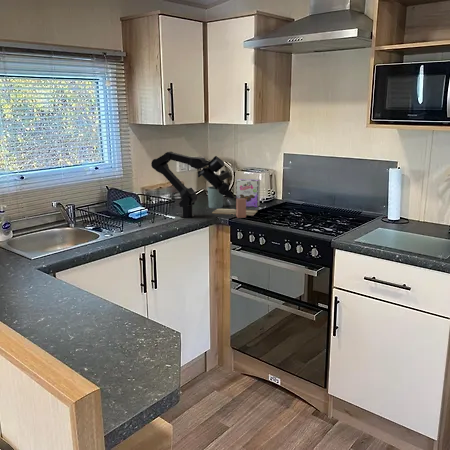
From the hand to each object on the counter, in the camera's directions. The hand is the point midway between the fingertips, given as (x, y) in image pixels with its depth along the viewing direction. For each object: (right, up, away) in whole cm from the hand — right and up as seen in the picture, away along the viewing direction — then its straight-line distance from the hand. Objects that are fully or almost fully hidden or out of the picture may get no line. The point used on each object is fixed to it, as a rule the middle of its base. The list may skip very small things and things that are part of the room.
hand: (231, 196), depth 259 cm
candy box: (+10, -4, +34) cm, 36 cm away
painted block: (+5, -11, +4) cm, 13 cm away
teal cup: (-9, -5, +31) cm, 33 cm away
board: (+2, -8, +15) cm, 17 cm away
